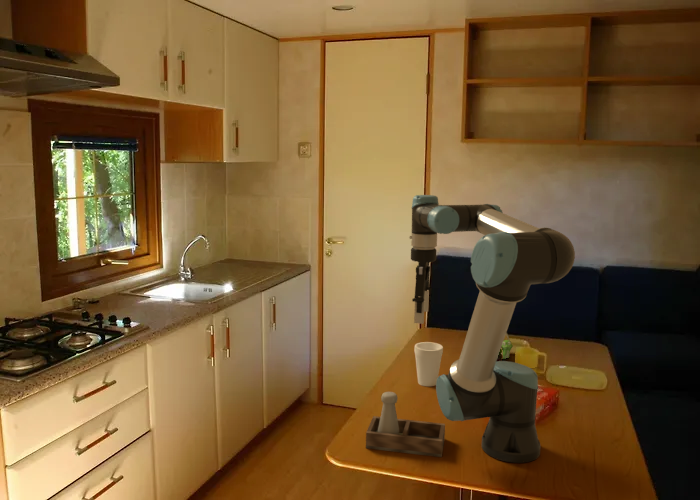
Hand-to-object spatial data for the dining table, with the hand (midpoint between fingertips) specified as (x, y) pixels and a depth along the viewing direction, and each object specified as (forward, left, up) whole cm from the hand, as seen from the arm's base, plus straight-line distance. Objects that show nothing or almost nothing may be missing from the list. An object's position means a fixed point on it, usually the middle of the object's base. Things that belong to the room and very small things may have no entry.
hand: (421, 317), depth 186 cm
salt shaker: (-14, +22, -28) cm, 38 cm away
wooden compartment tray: (-17, +18, -29) cm, 38 cm away
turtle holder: (+21, -54, -29) cm, 65 cm away
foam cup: (+14, -15, -29) cm, 35 cm away
